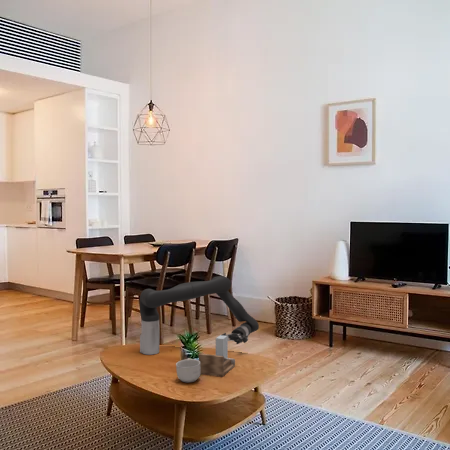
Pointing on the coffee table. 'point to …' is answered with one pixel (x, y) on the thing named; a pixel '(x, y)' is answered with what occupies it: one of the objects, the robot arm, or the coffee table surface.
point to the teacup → (188, 370)
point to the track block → (215, 364)
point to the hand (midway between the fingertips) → (229, 341)
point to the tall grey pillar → (222, 346)
